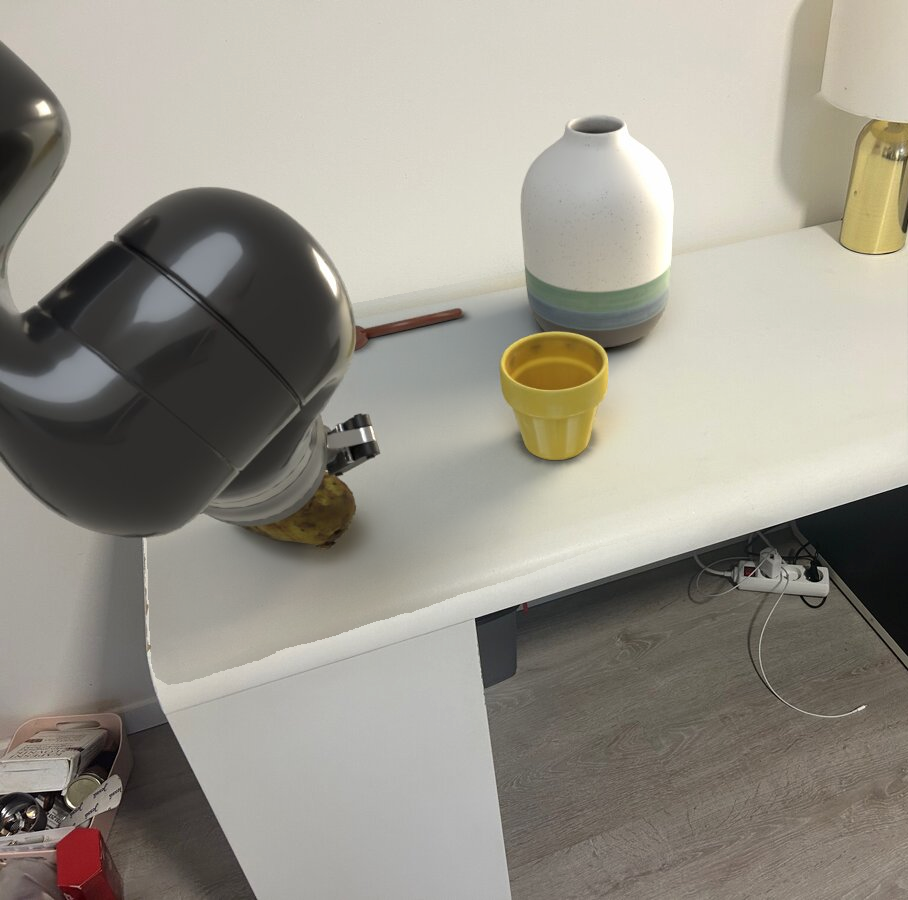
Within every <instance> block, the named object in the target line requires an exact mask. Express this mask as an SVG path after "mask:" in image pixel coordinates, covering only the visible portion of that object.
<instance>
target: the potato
mask: <svg viewBox="0 0 908 900" xmlns="http://www.w3.org/2000/svg"><path fill="white" fill-rule="evenodd" d="M356 511H357V505H356V499H355V496H354V492H353V491H352V490H351V489H350V487H349V486H348V484H346V482H344V481H343V480H342V479H340V478H339V476H338V477H335V475H334V476H329V474H328V471H327V470H326V471H325V474H324V477H323V479H322V482H321V484H320V486H319V488H318V489H317V491H316V492H315V494H314V495H313V497H312V498H311V499H310V500H309V501H308V502H307V503H306V504H305V505H304V506H303V507H302V508H301V509H299V510H298V511H297V512H295V513H294V514H292V515H290V516H289V517H287V518H285V519H282V520H280V521H277V522H274V523H271V524H267V525H261V526H238V525H236V526H237V527H240V528H243V529H245V530H248V531H253V532H255V533H257V534H259V535H262V536H264V537H266V538H269V539H273V540H278V541H283V542H293V543H294V542H295V543H303V544H307V545H316V548H319V549H321V550H323V549H327V550H328V549H331V548H332V546H335V545H336V541H337V540H338V539H339V538H341V537H342V536H343V535H344V533H345V532H346V531H348V530H349V525H350V524H351V523H352V521H353V518H354V516H356Z"/></svg>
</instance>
